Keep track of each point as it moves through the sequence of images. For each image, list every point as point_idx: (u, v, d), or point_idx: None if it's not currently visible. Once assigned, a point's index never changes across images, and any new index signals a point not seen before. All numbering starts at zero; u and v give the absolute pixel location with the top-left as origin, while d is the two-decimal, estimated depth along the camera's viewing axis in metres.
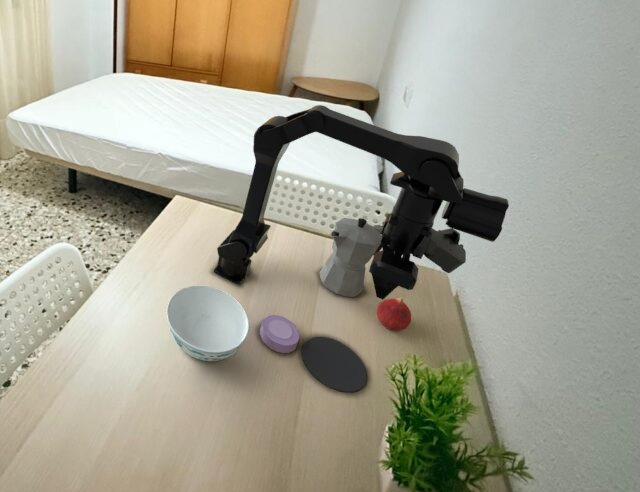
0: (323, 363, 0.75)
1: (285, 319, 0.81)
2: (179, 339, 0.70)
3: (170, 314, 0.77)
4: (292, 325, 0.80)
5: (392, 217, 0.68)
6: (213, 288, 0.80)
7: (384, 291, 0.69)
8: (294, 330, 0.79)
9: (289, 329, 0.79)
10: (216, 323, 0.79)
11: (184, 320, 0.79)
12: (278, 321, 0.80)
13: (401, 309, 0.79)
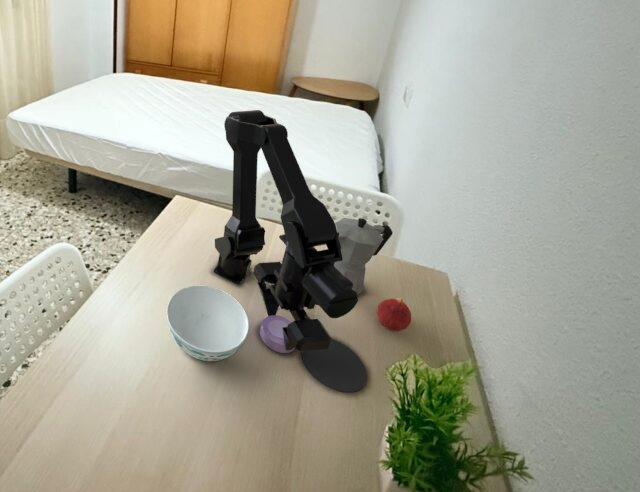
0: (323, 363, 0.75)
1: (285, 319, 0.81)
2: (179, 339, 0.70)
3: (170, 314, 0.77)
4: None
5: (287, 285, 0.71)
6: (213, 288, 0.80)
7: None
8: None
9: None
10: (216, 323, 0.79)
11: (184, 320, 0.79)
12: (278, 321, 0.80)
13: (401, 309, 0.79)
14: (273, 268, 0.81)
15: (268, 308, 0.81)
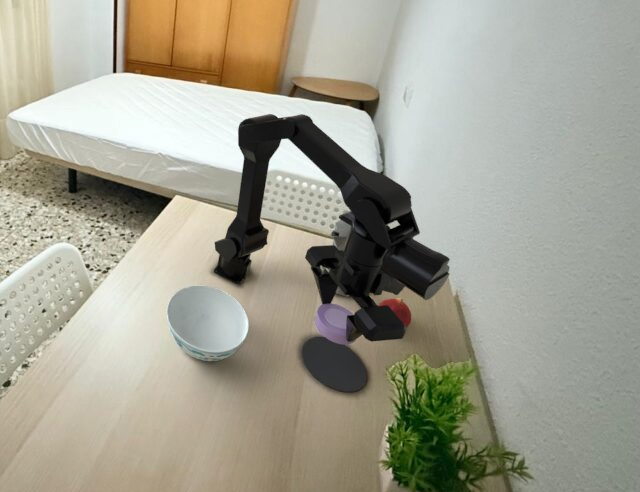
0: (323, 363, 0.75)
1: (342, 308, 0.73)
2: (179, 339, 0.70)
3: (170, 314, 0.77)
4: (351, 314, 0.72)
5: (353, 268, 0.63)
6: (213, 288, 0.80)
7: (358, 335, 0.66)
8: None
9: None
10: (216, 323, 0.79)
11: (184, 320, 0.79)
12: (334, 310, 0.73)
13: (401, 309, 0.79)
14: (329, 251, 0.73)
15: (323, 296, 0.73)
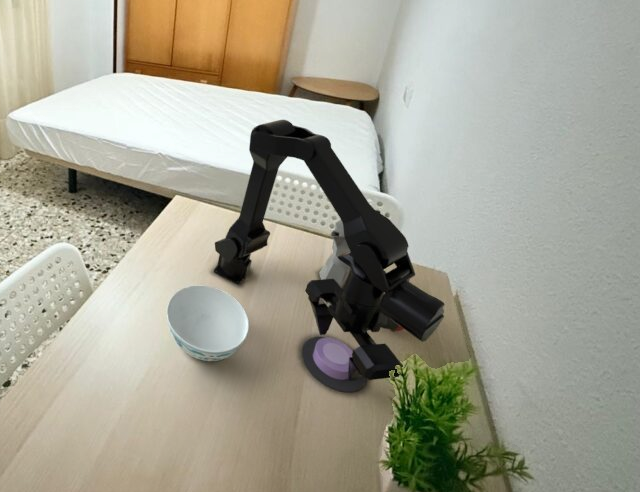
0: None
1: (339, 342, 0.76)
2: (179, 339, 0.70)
3: (170, 314, 0.77)
4: (348, 349, 0.75)
5: (352, 307, 0.66)
6: (213, 288, 0.80)
7: (359, 375, 0.68)
8: (350, 354, 0.74)
9: (345, 353, 0.74)
10: (216, 323, 0.79)
11: (184, 320, 0.79)
12: (332, 345, 0.76)
13: None
14: (328, 286, 0.76)
15: (320, 324, 0.77)
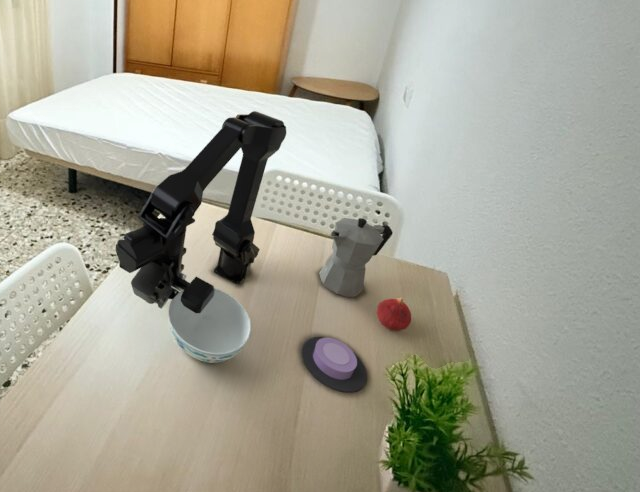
0: None
1: (339, 342, 0.76)
2: (181, 341, 0.70)
3: (171, 315, 0.76)
4: (348, 349, 0.75)
5: None
6: (215, 289, 0.80)
7: None
8: (350, 354, 0.74)
9: (345, 353, 0.74)
10: (217, 324, 0.79)
11: (185, 321, 0.79)
12: (332, 345, 0.76)
13: (401, 309, 0.79)
14: (197, 287, 0.73)
15: None
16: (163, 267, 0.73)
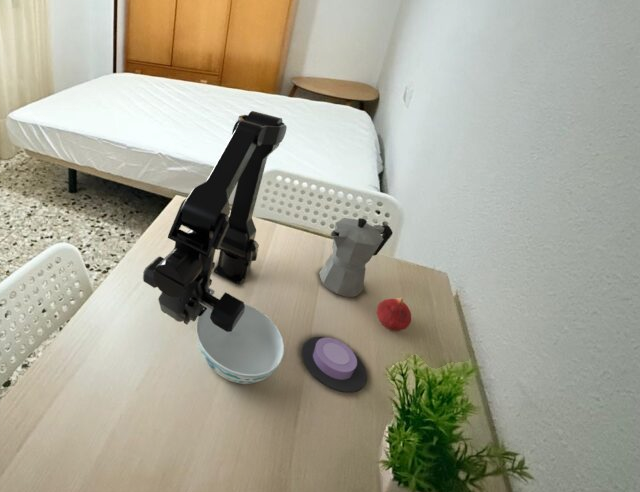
0: None
1: (339, 342, 0.76)
2: (212, 361, 0.66)
3: (199, 333, 0.73)
4: (348, 349, 0.75)
5: None
6: None
7: None
8: (350, 354, 0.74)
9: (345, 353, 0.74)
10: (246, 341, 0.76)
11: (212, 338, 0.76)
12: (332, 345, 0.76)
13: (401, 309, 0.79)
14: (227, 303, 0.70)
15: None
16: (192, 283, 0.69)
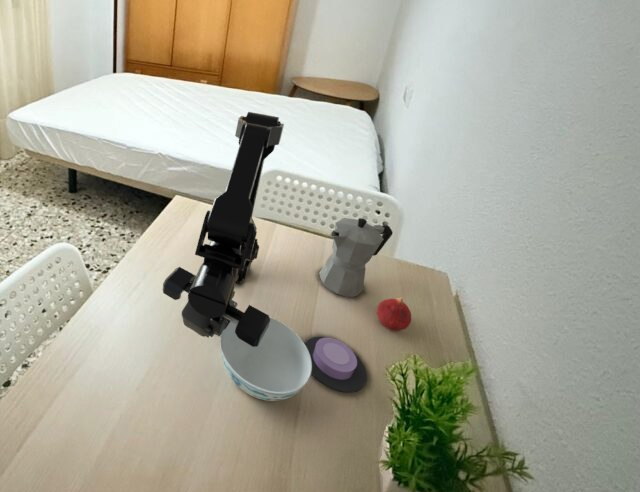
0: None
1: (339, 342, 0.76)
2: (238, 377, 0.64)
3: (222, 347, 0.71)
4: (348, 349, 0.75)
5: None
6: None
7: None
8: (350, 354, 0.74)
9: (345, 353, 0.74)
10: (270, 355, 0.73)
11: (235, 352, 0.73)
12: (332, 345, 0.76)
13: (401, 309, 0.79)
14: (253, 317, 0.68)
15: None
16: None
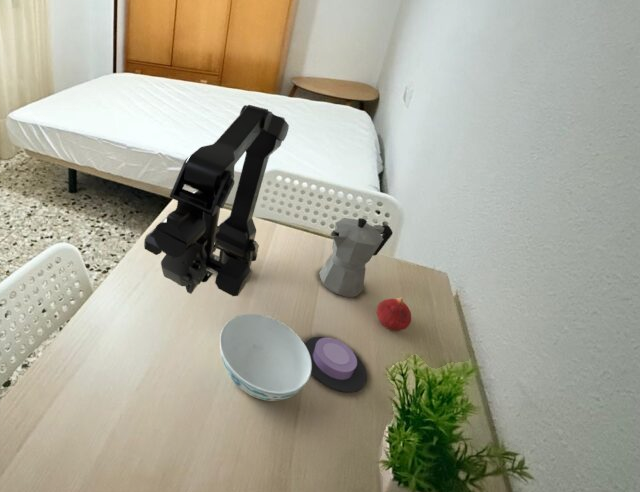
0: None
1: (339, 342, 0.76)
2: (238, 378, 0.64)
3: (222, 347, 0.71)
4: (348, 349, 0.75)
5: None
6: (266, 317, 0.75)
7: None
8: (350, 354, 0.74)
9: (345, 353, 0.74)
10: (270, 355, 0.73)
11: (235, 352, 0.73)
12: (332, 345, 0.76)
13: (401, 309, 0.79)
14: (233, 267, 0.67)
15: None
16: (196, 246, 0.66)
